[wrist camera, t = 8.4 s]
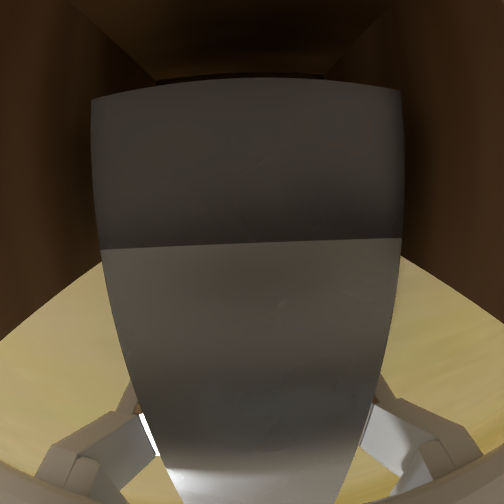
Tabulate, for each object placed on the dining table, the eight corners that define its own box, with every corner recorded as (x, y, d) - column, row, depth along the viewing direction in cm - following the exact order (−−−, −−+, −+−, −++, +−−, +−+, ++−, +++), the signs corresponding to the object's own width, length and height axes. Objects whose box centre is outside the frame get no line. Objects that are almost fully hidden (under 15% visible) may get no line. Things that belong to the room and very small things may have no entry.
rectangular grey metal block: (314, 131, 8) (400, 90, 3) (298, 458, 12) (313, 542, 7) (174, 136, 8) (91, 99, 3) (216, 462, 12) (211, 547, 7)
